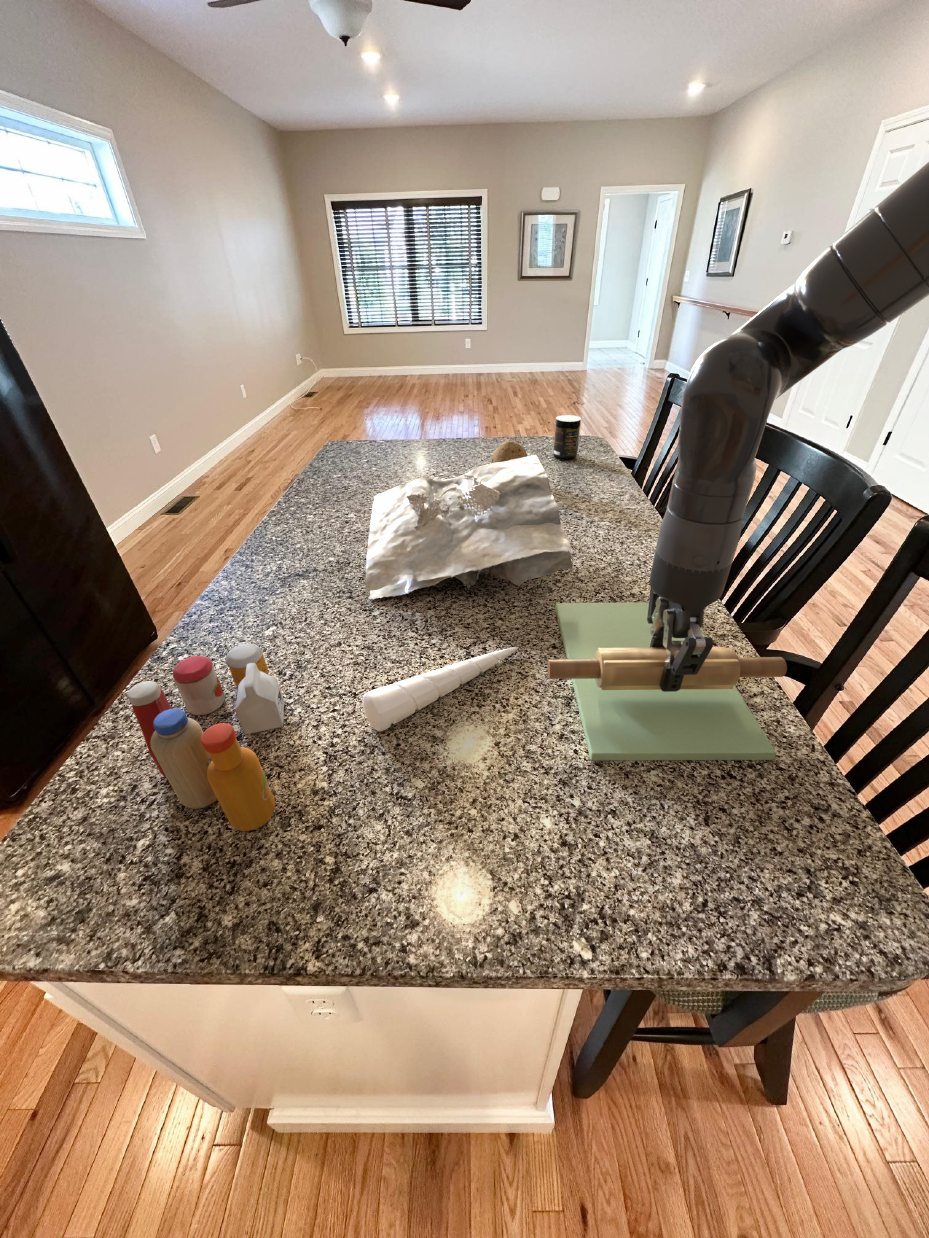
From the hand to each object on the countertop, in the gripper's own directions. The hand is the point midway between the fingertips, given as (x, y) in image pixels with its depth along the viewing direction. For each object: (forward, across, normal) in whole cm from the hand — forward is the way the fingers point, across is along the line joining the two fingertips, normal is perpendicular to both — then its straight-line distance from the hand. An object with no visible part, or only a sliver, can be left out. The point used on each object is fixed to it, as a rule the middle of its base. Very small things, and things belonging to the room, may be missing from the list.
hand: (662, 674), depth 63 cm
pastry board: (+4, +5, 0) cm, 6 cm away
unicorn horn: (+4, +2, +27) cm, 27 cm away
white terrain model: (+3, +38, +25) cm, 46 cm away
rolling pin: (+1, 0, 0) cm, 1 cm away
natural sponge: (+3, +77, +15) cm, 78 cm away
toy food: (+4, -8, +52) cm, 53 cm away
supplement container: (+3, +95, -2) cm, 95 cm away
